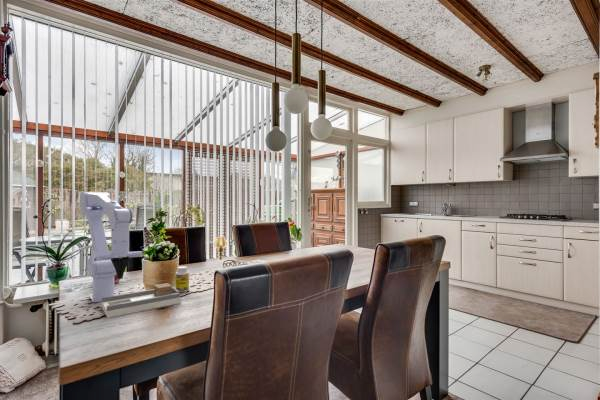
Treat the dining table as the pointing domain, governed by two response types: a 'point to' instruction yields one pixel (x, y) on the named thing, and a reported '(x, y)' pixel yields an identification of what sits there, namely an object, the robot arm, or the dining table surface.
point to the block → (162, 289)
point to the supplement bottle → (182, 279)
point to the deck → (137, 302)
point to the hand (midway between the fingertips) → (120, 278)
